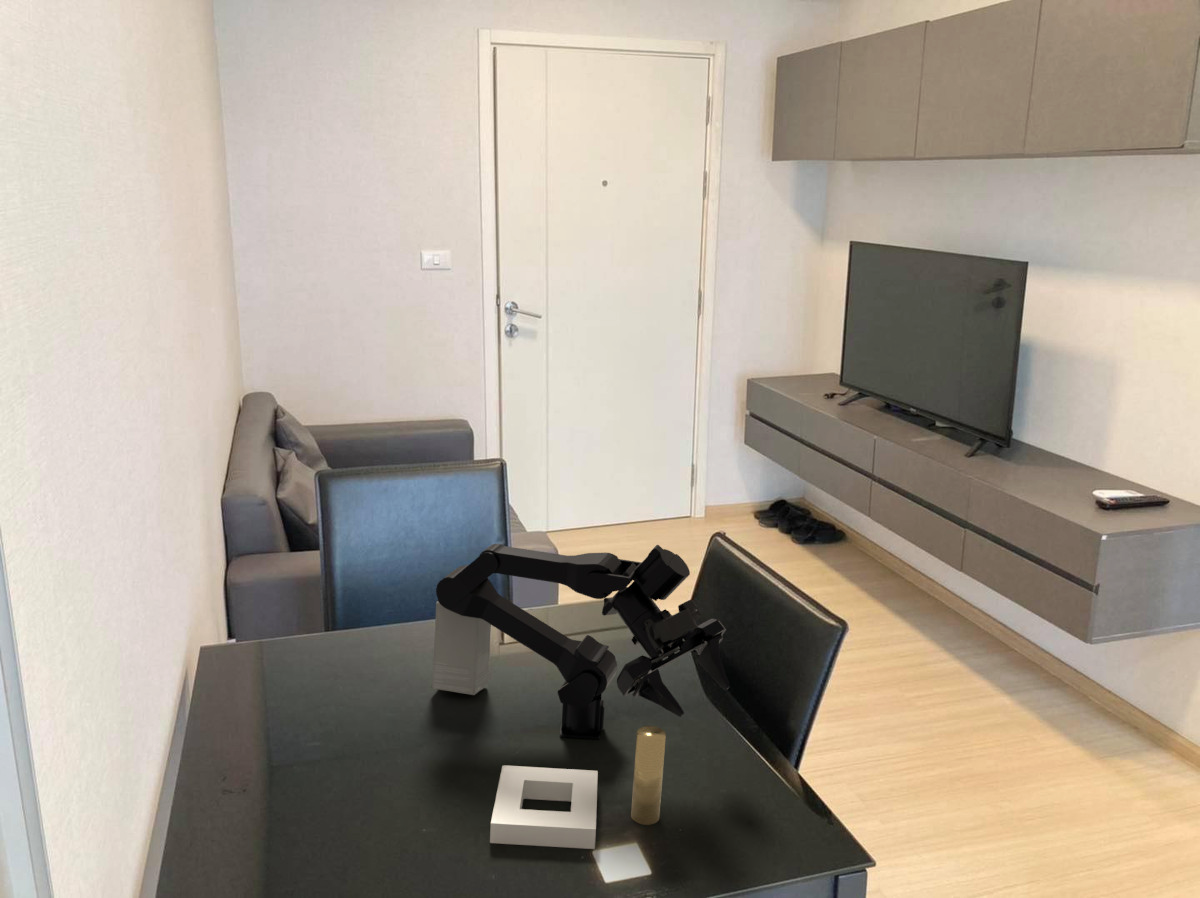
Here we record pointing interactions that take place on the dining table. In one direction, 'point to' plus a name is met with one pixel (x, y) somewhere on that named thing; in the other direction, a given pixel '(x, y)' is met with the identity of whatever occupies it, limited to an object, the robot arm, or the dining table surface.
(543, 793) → the socket block
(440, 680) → the skincare box
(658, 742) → the brass tube
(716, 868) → the dining table surface
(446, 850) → the dining table surface
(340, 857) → the dining table surface
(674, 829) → the dining table surface
